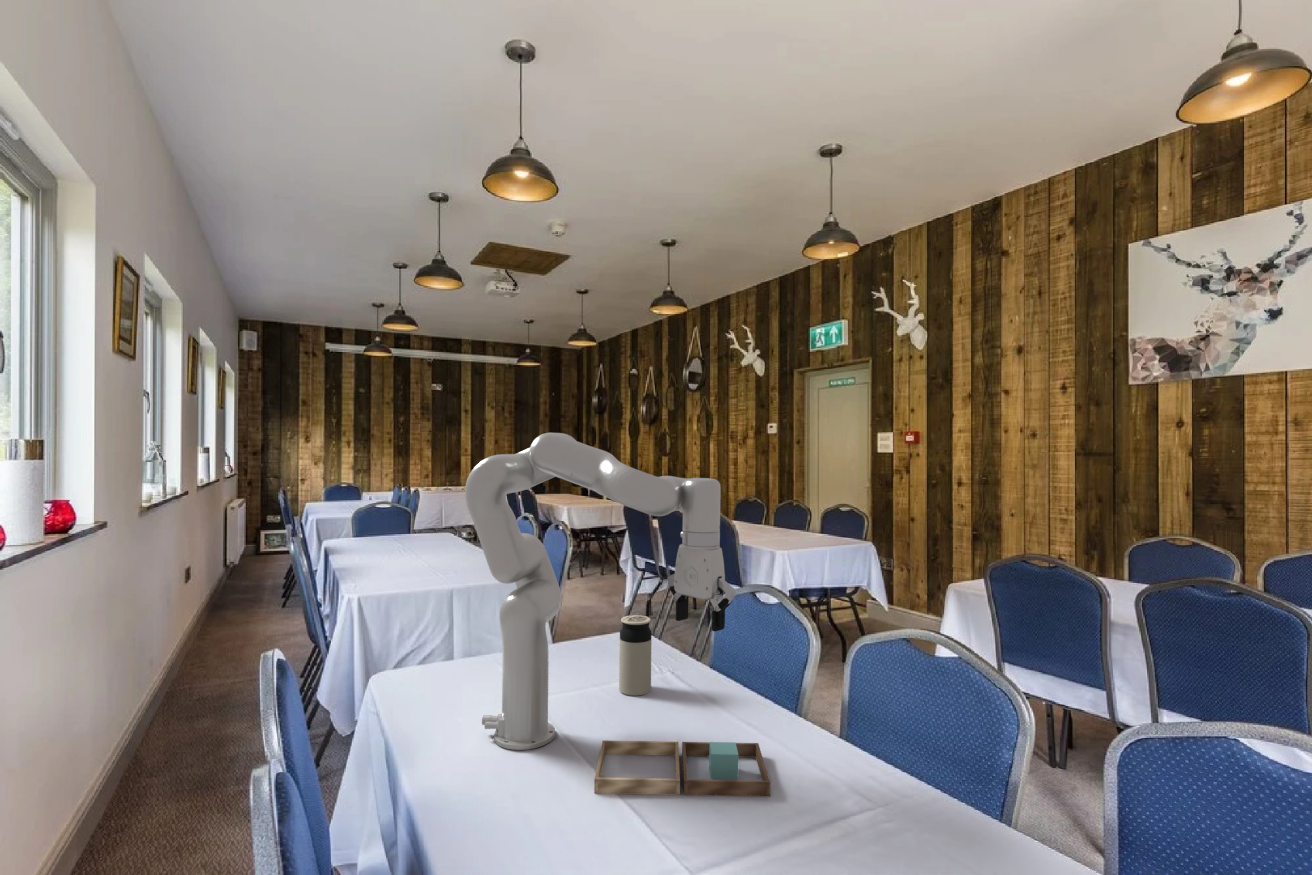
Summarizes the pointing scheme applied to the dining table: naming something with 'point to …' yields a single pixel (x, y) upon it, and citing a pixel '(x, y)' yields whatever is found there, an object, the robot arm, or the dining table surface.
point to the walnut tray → (725, 785)
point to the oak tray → (637, 783)
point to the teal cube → (723, 761)
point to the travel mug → (635, 655)
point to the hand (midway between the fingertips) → (699, 624)
